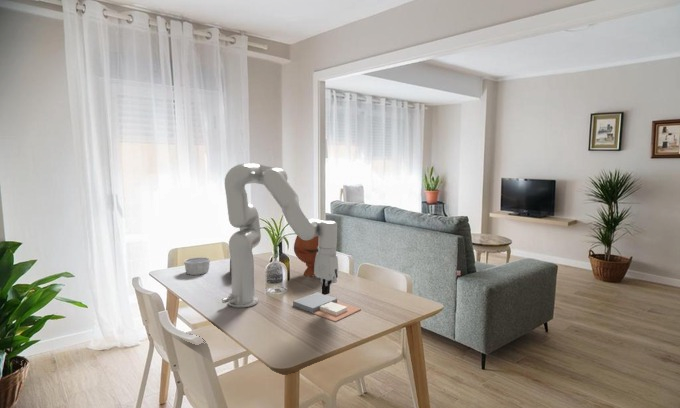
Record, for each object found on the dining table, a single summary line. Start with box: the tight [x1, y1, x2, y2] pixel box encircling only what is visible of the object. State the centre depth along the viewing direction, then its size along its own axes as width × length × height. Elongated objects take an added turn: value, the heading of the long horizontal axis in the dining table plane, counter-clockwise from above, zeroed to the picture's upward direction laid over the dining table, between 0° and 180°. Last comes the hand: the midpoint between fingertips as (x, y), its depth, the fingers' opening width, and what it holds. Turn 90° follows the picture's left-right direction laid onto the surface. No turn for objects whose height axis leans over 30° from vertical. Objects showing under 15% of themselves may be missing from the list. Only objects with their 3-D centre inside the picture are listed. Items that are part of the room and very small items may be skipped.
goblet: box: [293, 235, 319, 277], centre depth 209 cm, size 19×19×25 cm
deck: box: [292, 291, 338, 314], centre depth 166 cm, size 15×12×2 cm
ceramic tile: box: [320, 302, 348, 316], centre depth 159 cm, size 7×9×2 cm
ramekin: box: [183, 256, 211, 276], centre depth 211 cm, size 13×13×7 cm
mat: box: [312, 301, 362, 323], centre depth 158 cm, size 16×12×1 cm
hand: (325, 293), depth 161 cm, fingers closed
